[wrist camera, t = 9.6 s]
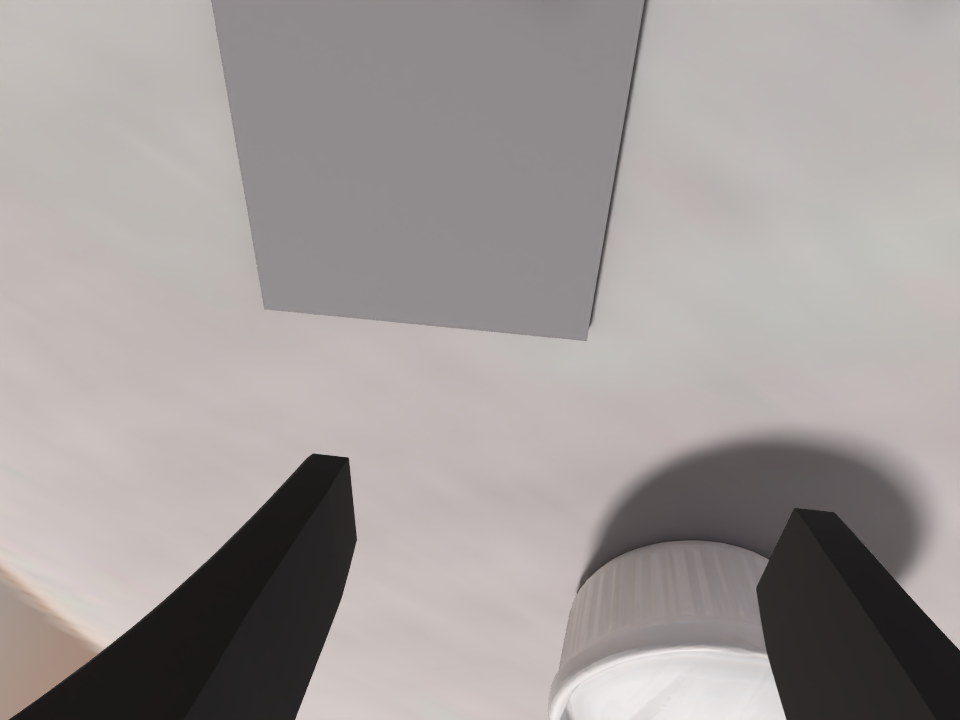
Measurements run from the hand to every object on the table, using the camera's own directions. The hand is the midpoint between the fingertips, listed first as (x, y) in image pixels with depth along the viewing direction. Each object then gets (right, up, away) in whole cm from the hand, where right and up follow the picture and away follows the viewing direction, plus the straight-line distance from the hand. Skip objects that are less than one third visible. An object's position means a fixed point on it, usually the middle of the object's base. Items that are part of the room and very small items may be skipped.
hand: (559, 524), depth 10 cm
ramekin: (+7, -7, +16) cm, 19 cm away
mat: (-3, +8, +6) cm, 11 cm away
